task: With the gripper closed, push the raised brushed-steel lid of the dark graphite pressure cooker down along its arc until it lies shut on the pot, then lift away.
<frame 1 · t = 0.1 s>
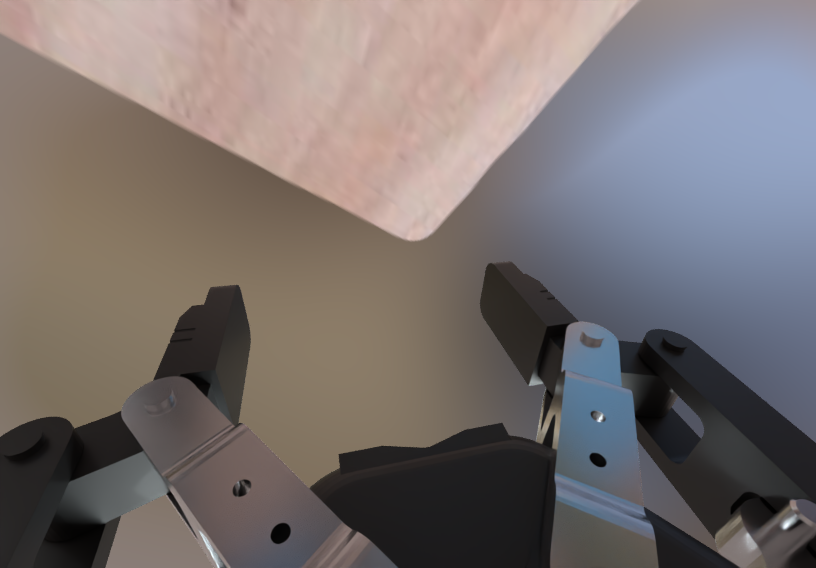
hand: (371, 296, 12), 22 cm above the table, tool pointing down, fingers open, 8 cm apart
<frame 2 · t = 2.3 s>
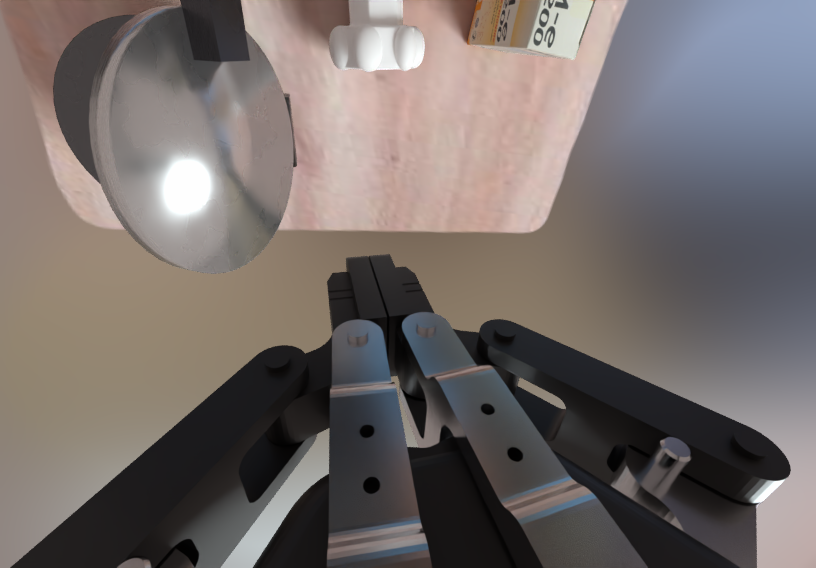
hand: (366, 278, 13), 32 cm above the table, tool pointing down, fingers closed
cooker lid: (225, 103, 22), point 18 cm above the table, hinge at 60.8°, touching cooker pot
cooker pot: (204, 109, 37), on the table
supplement box: (494, 2, 38), on the table
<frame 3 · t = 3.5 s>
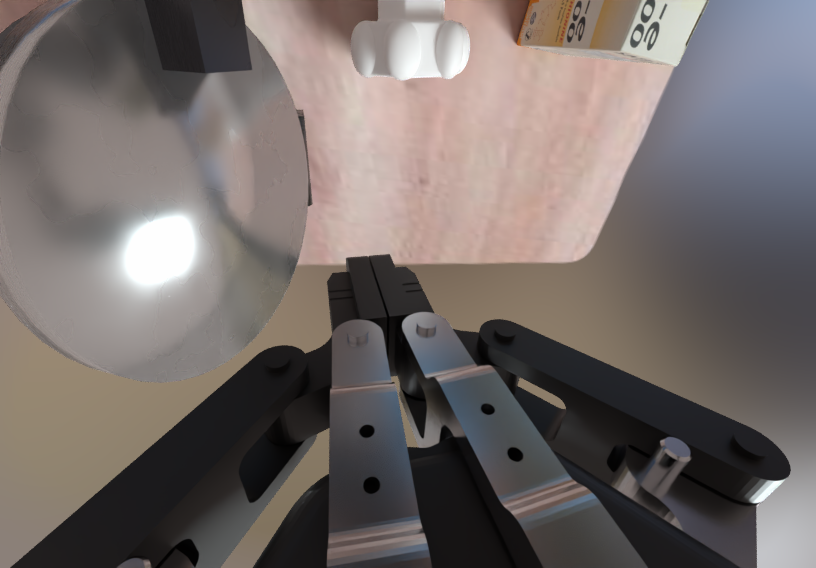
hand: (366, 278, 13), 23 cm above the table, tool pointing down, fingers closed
cooker lid: (215, 133, 14), point 18 cm above the table, hinge at 60.8°, touching cooker pot
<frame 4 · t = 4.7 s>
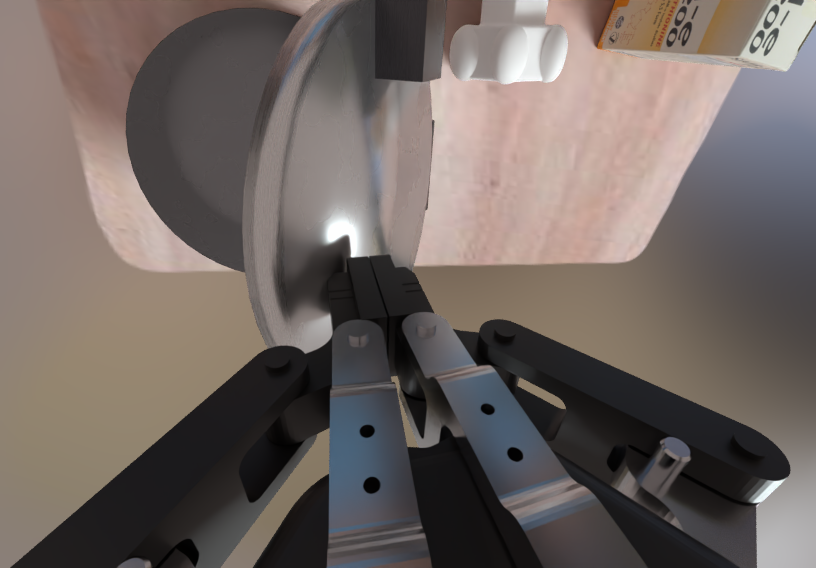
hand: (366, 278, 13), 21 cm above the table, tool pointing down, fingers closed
cooker lid: (394, 139, 15), point 18 cm above the table, hinge at 57.5°, touching gripper
cooker pot: (283, 127, 29), on the table
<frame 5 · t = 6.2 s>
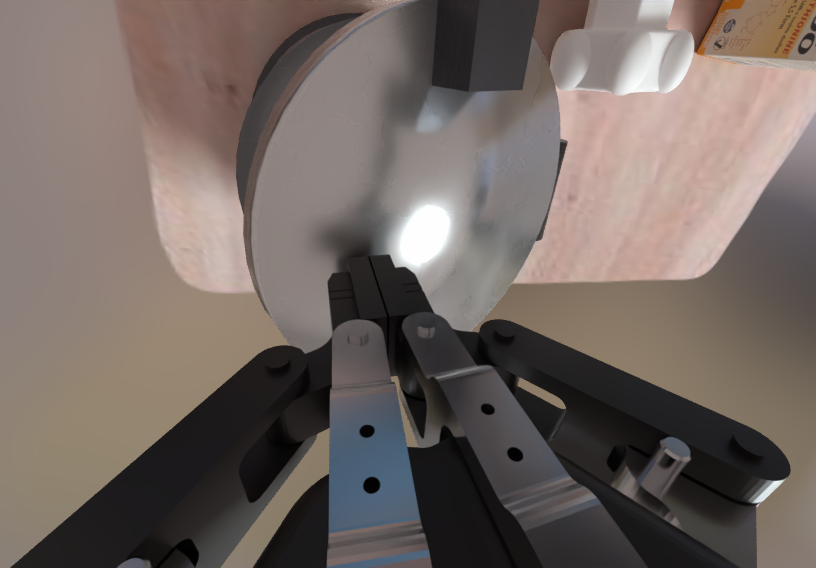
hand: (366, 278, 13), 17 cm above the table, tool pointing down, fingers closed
cooker lid: (462, 153, 13), point 15 cm above the table, hinge at 23.6°, touching gripper
cooker pot: (362, 140, 27), on the table
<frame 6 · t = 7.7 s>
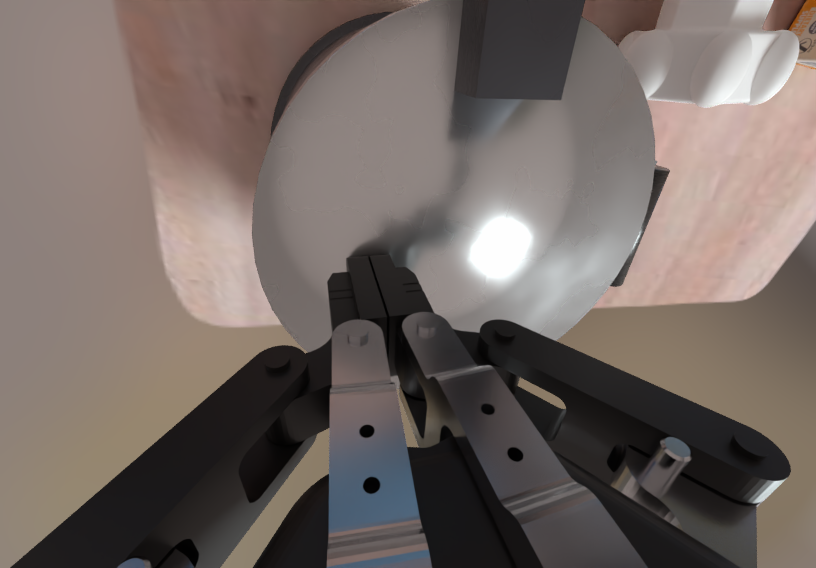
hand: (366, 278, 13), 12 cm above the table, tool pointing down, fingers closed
cooker lid: (493, 168, 12), point 13 cm above the table, hinge at -0.2°, touching gripper
cooker pot: (396, 157, 24), on the table
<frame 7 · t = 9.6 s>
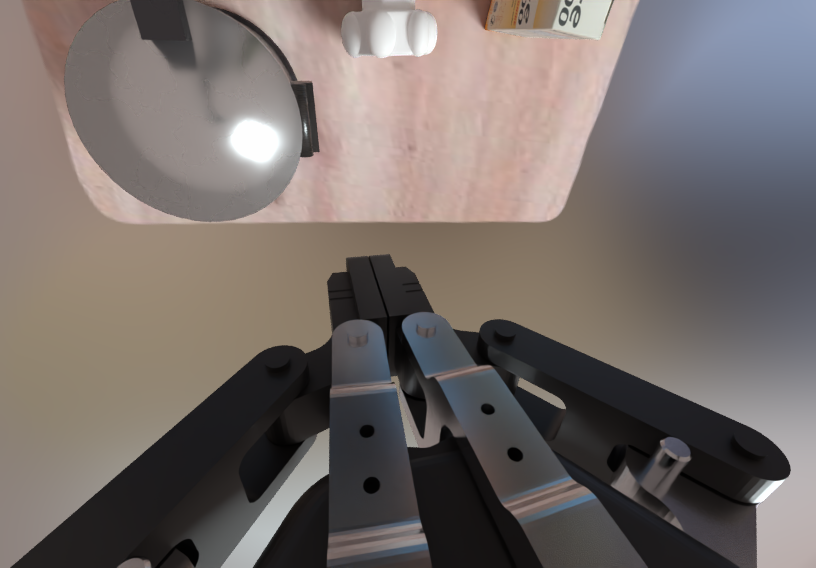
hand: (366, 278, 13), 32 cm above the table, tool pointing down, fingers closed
cooker lid: (186, 79, 25), point 13 cm above the table, hinge at -0.2°
cooker pot: (223, 100, 37), on the table
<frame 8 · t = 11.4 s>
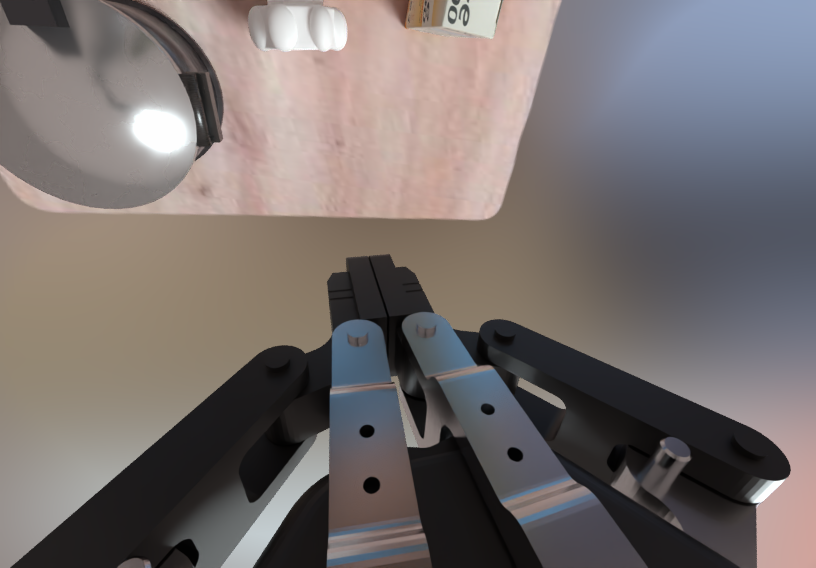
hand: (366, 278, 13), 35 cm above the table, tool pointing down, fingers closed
cooker lid: (67, 65, 25), point 13 cm above the table, hinge at -0.2°
cooker pot: (140, 91, 37), on the table
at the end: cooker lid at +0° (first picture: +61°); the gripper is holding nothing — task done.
